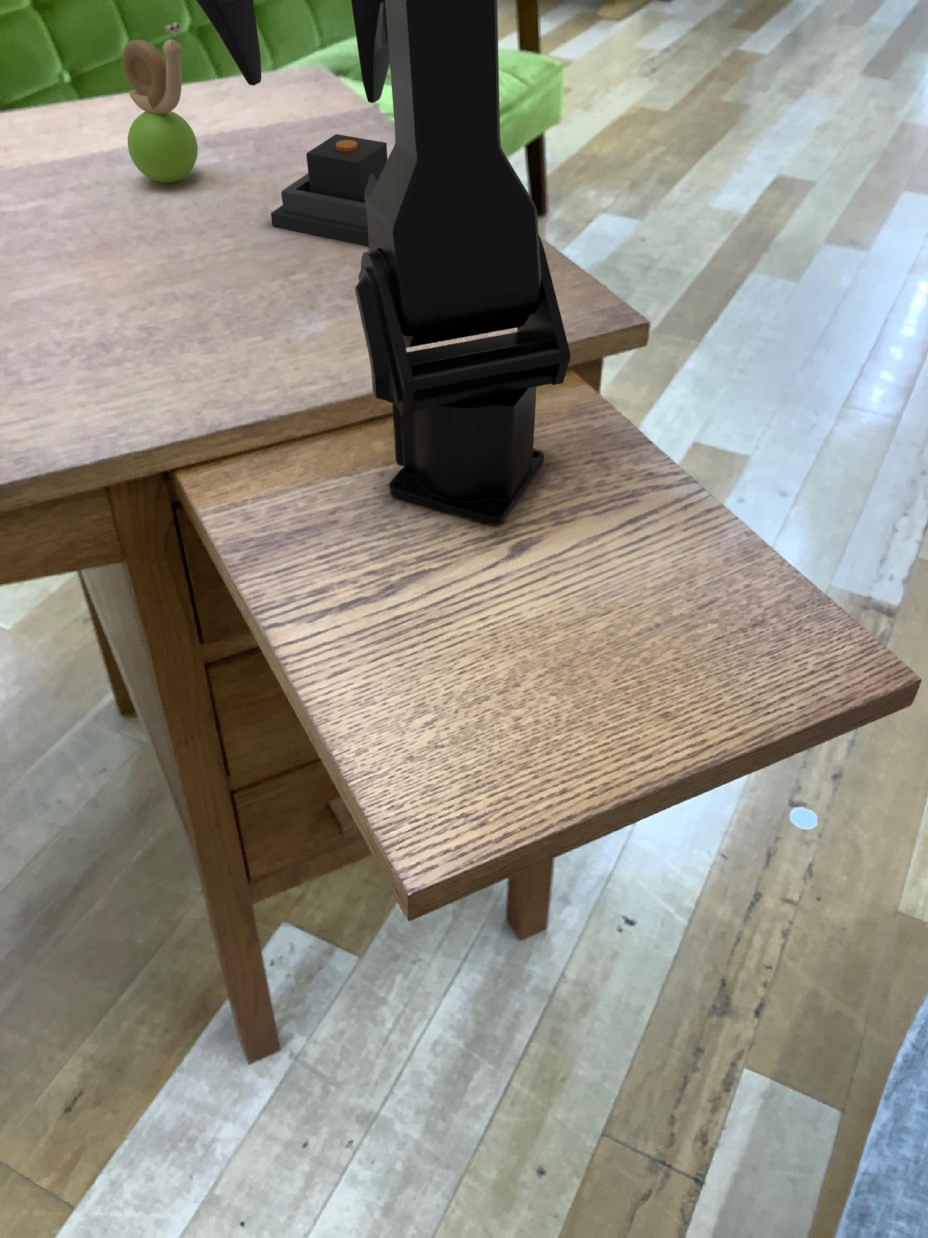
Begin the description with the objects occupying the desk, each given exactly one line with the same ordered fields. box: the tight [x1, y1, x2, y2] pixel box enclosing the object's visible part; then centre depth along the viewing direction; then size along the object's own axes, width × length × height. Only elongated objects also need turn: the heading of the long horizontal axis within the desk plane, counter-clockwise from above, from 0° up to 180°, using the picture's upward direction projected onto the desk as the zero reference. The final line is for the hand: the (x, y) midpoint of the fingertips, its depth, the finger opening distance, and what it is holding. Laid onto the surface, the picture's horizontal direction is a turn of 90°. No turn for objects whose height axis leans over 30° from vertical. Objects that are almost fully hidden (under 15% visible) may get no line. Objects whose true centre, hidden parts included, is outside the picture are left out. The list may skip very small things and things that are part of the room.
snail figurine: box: [121, 21, 199, 184], centre depth 81 cm, size 5×6×12 cm
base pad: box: [270, 172, 369, 247], centre depth 80 cm, size 9×9×2 cm
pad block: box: [305, 133, 388, 203], centre depth 78 cm, size 4×4×4 cm
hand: (313, 91), depth 69 cm, fingers open, 9 cm apart
